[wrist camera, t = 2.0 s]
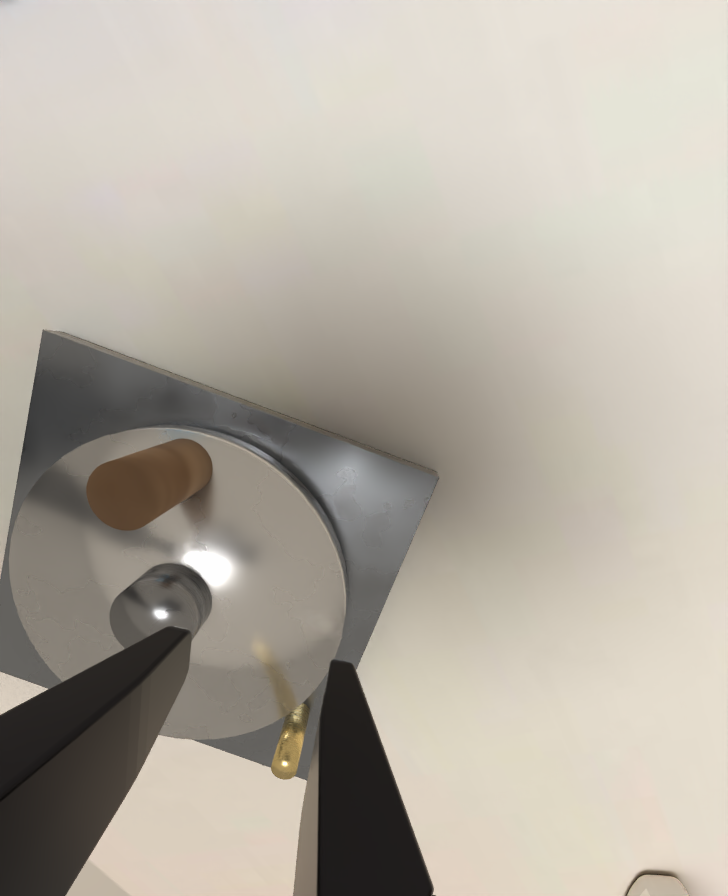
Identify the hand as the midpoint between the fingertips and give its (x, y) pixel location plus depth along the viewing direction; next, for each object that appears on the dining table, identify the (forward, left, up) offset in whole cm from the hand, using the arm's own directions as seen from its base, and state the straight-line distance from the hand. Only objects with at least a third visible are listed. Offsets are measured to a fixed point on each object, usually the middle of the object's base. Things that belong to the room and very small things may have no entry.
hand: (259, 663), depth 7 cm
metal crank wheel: (-5, -8, -11) cm, 14 cm away
